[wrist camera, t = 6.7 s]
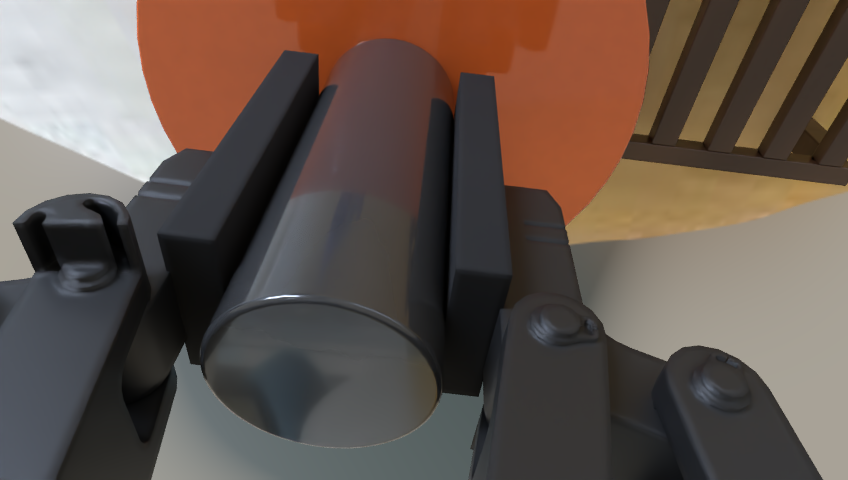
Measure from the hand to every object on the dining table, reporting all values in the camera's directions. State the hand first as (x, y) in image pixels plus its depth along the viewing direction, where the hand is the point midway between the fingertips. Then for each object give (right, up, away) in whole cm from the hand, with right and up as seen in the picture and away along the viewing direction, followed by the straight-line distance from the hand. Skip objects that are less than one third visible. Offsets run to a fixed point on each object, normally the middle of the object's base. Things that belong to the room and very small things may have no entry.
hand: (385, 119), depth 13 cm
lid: (0, +1, +1) cm, 2 cm away
